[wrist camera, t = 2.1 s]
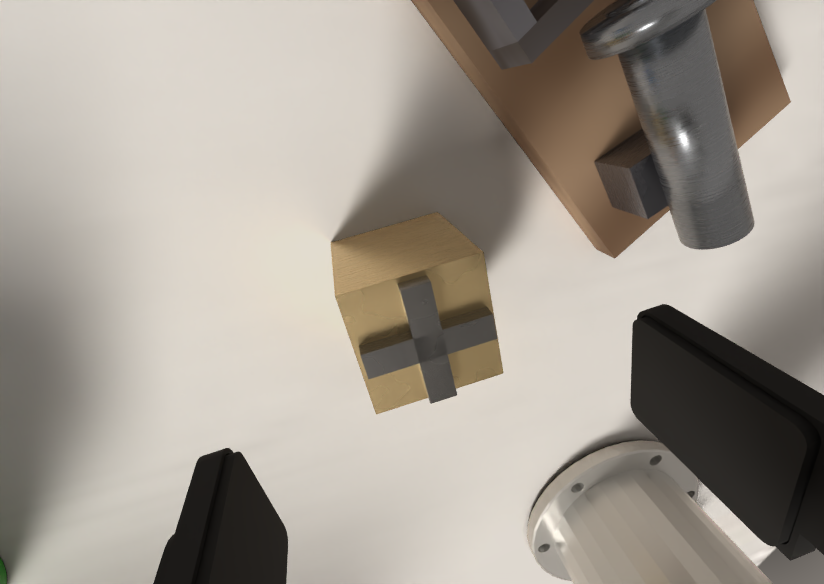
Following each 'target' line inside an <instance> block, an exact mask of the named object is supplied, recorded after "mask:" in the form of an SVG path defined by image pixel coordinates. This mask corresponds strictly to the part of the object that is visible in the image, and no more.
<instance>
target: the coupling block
mask: <svg viewBox="0 0 824 584" xmlns="http://www.w3.org/2000/svg"><path fill="white" fill-rule="evenodd" d="M331 253H332V265H333V277H334V289H335V297H336V300H337V303H338V306H339V309H340V312H341V315H342V317H343V320H344V323H345V326H346V329H347V332H348V335H349V338H350V340H351V343H352V346H353V349H354V352H355V355H356V358H357V361H358V363H359V366H360V369H361V372H362V375H363V378H364V381H365V384H366V386H367V389H368V392H369V395H370V398H371V401H372V404H373V406H374V409H375V412H376V414H379V413H382V412H385V411H388V410H391V409H395V408H398V407H401V406H404V405H407V404H410V403H413V402H416V401H419V400H422V399H425V398H429V401H430V403H435V402H438V401H441V400H444V399H447V398H450V397H453V396H456V395H457V392H456V388H459V387H462V386H466V385H469V384H472V383H475V382H478V381H481V380H484V379H487V378H490V377H493V376H496V375H500V374H503V368H502V362H501V355H500V349H499V343H498V337H497V331H496V325H495V319H494V313H493V307H492V301H491V295H490V289H489V283H488V277H487V271H486V264H485V258H484V252H483V251H482V250H480V249H479V248H478V247H477V246H476V245H475V244H474V243H472V242H471V241H470V240H469V239H468V238H467V237H465V236H464V235H463V234H462V233H461V232H460V231H459V230H457V229H456V228H455V227H454V226H453V225H452V224H451V223H449V222H448V221H447V220H446V219H445V218H444V217H443V216H441V215H440V214H439V213H438V212H436V213H433V214H429V215H426V216H422V217H419V218H415V219H411V220H408V221H404V222H401V223H397V224H394V225H390V226H387V227H383V228H380V229H376V230H373V231H369V232H366V233H362V234H359V235H355V236H352V237H348V238H345V239H341V240H338V241H334V242H331Z"/></svg>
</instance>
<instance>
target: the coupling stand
mask: <svg viewBox="0 0 824 584" xmlns="http://www.w3.org/2000/svg"><path fill="white" fill-rule="evenodd" d="M411 1H412V2H413V3H414V5H415V6H416V7H417V9H418V10H419V11H420V13H421V14H422V16H423V17H424V18H425V20H426V21H427V22H428V24H429V25H430V26H431V28H432V29H433V30H434V32H435V33H436V34H437V36H438V37H439V38H440V40H441V41H442V42H443V44H444V45H445V46H446V48H447V49H448V50H449V52H450V53H451V54H452V56H453V57H454V59H455V60H456V61H457V63H458V64H459V65H460V67H461V68H462V69H463V71H464V72H465V73H466V75H467V76H468V77H469V79H470V80H471V81H472V83H473V84H474V85H475V87H476V88H477V89H478V91H479V92H480V93H481V95H482V96H483V97H484V99H485V100H486V102H487V103H488V104H489V106H490V107H491V108H492V110H493V111H494V112H495V114H496V115H497V116H498V118H499V119H500V120H501V122H502V123H503V124H504V126H505V127H506V128H507V130H508V131H509V132H510V134H511V135H512V136H513V138H514V139H515V140H516V142H517V143H518V145H519V146H520V147H521V149H522V150H523V151H524V153H525V154H526V155H527V157H528V158H529V159H530V161H531V162H532V163H533V165H534V166H535V167H536V169H537V170H538V171H539V173H540V174H541V175H542V177H543V178H544V179H545V181H546V182H547V183H548V185H549V186H550V188H551V189H552V190H553V192H554V193H555V194H556V196H557V197H558V198H559V200H560V201H561V202H562V204H563V205H564V206H565V208H566V209H567V210H568V212H569V213H570V214H571V216H572V217H573V218H574V220H575V221H576V222H577V224H578V225H579V226H580V228H581V229H582V231H583V232H584V233H585V235H586V236H587V237H588V239H589V240H590V241H591V243H592V244H593V245H594V247H595V248H596V249H597V250H599V251H601V252H603V253H605V254H607V255H609V256H611V257H613V258H616V257H617V256H618V255H619V254H620V253H622V252H623V251H624V250H625V249H626V248H627V247H628V246H629V245H631V244H632V243H633V242H634V241H635V240H636V239H637V238H638V237H640V236H641V235H642V234H643V233H644V232H645V231H646V230H647V229H649V228H650V227H651V226H652V225H653V224H654V223H655V222H656V221H658V220H659V219H660V218H661V217H662V216H663V215H664V214H665V213H667V212H668V211H669V210H670V209H669V206H667V207H665V208H664V209H662V210H661V211H659V212H658V213H656V214H655V215H654V216H652V217H651V218H649V219H646V218H643V217H640V216H637V215H634V214H631V213H628V212H625V211H622V210H619V209H616V208H613V207H612V205H611V203H610V200H609V198H608V195H607V193H606V190H605V188H604V185H603V183H602V181H601V178H600V176H599V173H598V171H597V168H596V166H595V163H594V161H595V160H597V159H598V158H600V157H601V156H603V155H604V154H606V153H607V152H608V151H610V150H611V149H613V148H614V147H616V146H617V145H619V144H620V143H621V142H623V141H624V140H626V139H627V138H629V137H630V136H632V135H633V134H634V133H636V132H637V131H639V130H640V129H642V126H641V123H640V120H639V117H638V114H637V111H636V108H635V105H634V102H633V99H632V96H631V93H630V90H629V87H628V84H627V81H626V78H625V75H624V72H623V69H622V66H621V63H620V60H619V57H618V54H617V55H614V56H611V57H607V58H604V59H599V60H591V59H589V58H588V56H587V53H586V50H585V47H584V45H583V42H582V39H581V37H580V34H579V32H580V30H581V29H582V27H583V26H584V25H585V24H586V23H587V22H588V21H589V20H591V19H592V18H593V17H594V16H595V15H597V14H598V13H599V12H601V11H602V10H603V9H605V8H606V7H607V6H609V5H610V4H612V3H613V2H615V1H616V0H411ZM705 9H706V14H707V18H708V22H709V27H710V31H711V35H712V40H713V44H714V48H715V53H716V57H717V61H718V66H719V70H720V74H721V79H722V83H723V87H724V92H725V96H726V100H727V105H728V109H729V114H730V118H731V122H732V127H733V131H734V135H735V140H736V144H737V148H738V149H739V148H740V147H741V146H742V145H743V144H744V143H745V142H747V141H748V140H749V139H750V138H751V137H752V136H753V135H754V134H756V133H757V132H758V131H759V130H760V129H761V128H762V127H763V126H765V125H766V124H767V123H768V122H769V121H770V120H771V119H772V118H774V117H775V116H776V115H777V114H778V113H779V112H780V111H781V110H783V109H784V108H785V107H786V106H787V105H788V104H789V103H790V102H791V101H790V98H789V96H788V93H787V90H786V88H785V85H784V82H783V79H782V77H781V74H780V71H779V69H778V66H777V63H776V61H775V58H774V55H773V52H772V50H771V47H770V44H769V42H768V39H767V36H766V33H765V31H764V28H763V25H762V23H761V20H760V17H759V15H758V12H757V9H756V6H755V4H754V1H753V0H716V1H715V2H714V3H712V4H711V5H710V6H708V7H707V8H705Z"/></svg>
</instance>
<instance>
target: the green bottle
mask: <svg viewBox="0 0 824 584" xmlns="http://www.w3.org/2000/svg"><path fill="white" fill-rule="evenodd" d="M0 584H7V574H6V570H5V566H4V564H3V562H2V560H1V558H0Z"/></svg>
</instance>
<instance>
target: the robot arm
mask: <svg viewBox="0 0 824 584" xmlns="http://www.w3.org/2000/svg"><path fill="white" fill-rule="evenodd" d="M631 408H632V411H633V413H634V414H635V416H636V417H637V419H638V420H639V421H640V422H641V423H642V424H643V425H644V426H645V427H646V428H647V429H648V430H649V431H651V432H652V433H653V434H654V435H655V436H656V437H657V438H658V439H659V440H660V441H661V442H662V443H659V442H656V441H642V440H639V441H630V442H623V443H619V444H615V445H611V446H608V447H605V448H603V449H600V450H598V451H596V452H593V453H591V454H589V455H587V456H586V457H584V458H582V459H580V460H579V461H577V462H575V463H574V464H572V465H571V466H570V467H569V468H567V469H566V470H565V471H563V472H562V473H561V474H560V475H559V476H558V477H557V478H556V479H555V480H554V481H553V482H552V483H550V484H549V485H548V487H547V488H546V489H545V491H544V492H543V493H542V495H541V496H540V497H539V499H538V501H537V502H536V504H535V506H534V508H533V510H532V512H531V515H530V519H529V522H528V525H527V539H528V543H529V547H530V549H531V551H532V553H533V555H534V557H535V559H536V562H537V563H538V564H539V566H540V567H541V568H542V569H543V570H544V571H545V572H547V573H549V574H550V575H552V576H554V577H557V578H560V579H563V580H569V581H573V583H574V584H773V583H772V582H771V581H770V580H769V579H768V578H767V577H766V576H765V575H764V573H763V572H762V571H761V570H760V569H759V568H758V567H757V566H756V565H755V564H754V563H753V562H752V561H751V560H750V559H749V558H748V557H747V556H746V555H745V554H744V553H743V551H742V550H741V549H740V548H739V547H738V546H737V545H736V544H735V543H734V542H733V541H732V540H731V539H730V538H729V537H728V536H727V535H726V534H725V533H724V532H723V531H722V529H721V528H720V527H719V526H718V525H717V524H716V523H715V522H714V521H713V520H712V519H711V518H710V517H709V516H708V515H707V514H706V513H705V512H704V511H703V510H702V509H701V507H700V506H699V505H698V504H697V503H696V500H697V496H698V479H699V480H700V481H701V482H702V483H703V484H704V485H705V486H706V487H707V488H708V489H709V490H710V491H711V492H712V493H714V494H715V495H716V496H717V497H718V498H719V499H720V500H721V501H722V502H723V503H724V504H725V505H726V506H727V507H728V508H729V509H730V510H731V511H732V512H733V513H734V514H735V515H736V516H737V517H738V518H739V519H740V520H741V521H742V522H743V523H744V524H745V525H746V526H747V527H748V528H749V529H750V530H751V531H752V532H753V533H754V534H755V535H756V536H757V537H758V538H759V539H761V540H762V541H763V542H764V543H766V544H767V545H770V546H776V547H777V548H778V549H779V550H780V551H781V552H782V553H783V554H784V555H785V556H786V557H787V558H788V559H789V560H793V559H795V558H798V557H800V556H803V555H805V554H808V553H810V552H812V551H815V549H816V548H817V549H818V550H819V551H820V552H821V553H822V554H823V555H824V395H822V394H821V393H819V392H817V391H815V390H814V389H812V388H810V387H809V386H807V385H805V384H803V383H802V382H800V381H798V380H797V379H795V378H793V377H791V376H790V375H788V374H786V373H785V372H783V371H781V370H779V369H778V368H776V367H774V366H773V365H771V364H769V363H767V362H766V361H764V360H762V359H761V358H759V357H757V356H755V355H754V354H752V353H750V352H749V351H747V350H745V349H743V348H742V347H740V346H738V345H737V344H735V343H733V342H731V341H730V340H728V339H726V338H725V337H723V336H721V335H719V334H718V333H716V332H714V331H713V330H711V329H709V328H707V327H706V326H704V325H702V324H700V323H699V322H697V321H695V320H694V319H692V318H690V317H688V316H687V315H685V314H683V313H682V312H680V311H678V310H676V309H675V308H673V307H671V306H669V305H667V304H662V305H659V306H656V307H653V308H650V309H647V310H644V311H642V312H640V313H639V314H638V316H637V320H635V321H634V322H633V334H632V370H631ZM287 554H288V537H287V532H286V529H285V526H284V524H283V523H282V521H281V519H280V517H279V516H278V514H277V512H276V511H275V509H274V507H273V506H272V504H271V502H270V500H269V499H268V497H267V495H266V494H265V492H264V490H263V489H262V487H261V485H260V483H259V482H258V480H257V478H256V477H255V475H254V473H253V471H252V470H251V468H250V466H249V465H248V463H247V461H246V460H245V458H244V456H243V455H242V453H241V452H235V453H233V451H232V450H231V449H229V448H225V449H222V450H219V451H216V452H213V453H210V454H207V455H204V456H201V457H200V458H199V459H198V461H197V463H196V466H195V469H194V473H193V476H192V479H191V482H190V486H189V489H188V492H187V496H186V499H185V502H184V505H183V509H182V512H181V515H180V518H179V522H178V525H177V528H176V532H175V534H174V535H173V536H172V537H171V538H170V539H169V540H168V542H167V544H166V547H165V549H164V552H163V555H162V558H161V561H160V564H159V568H158V571H157V574H156V577H155V580H154V583H153V584H286V576H287Z"/></svg>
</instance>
